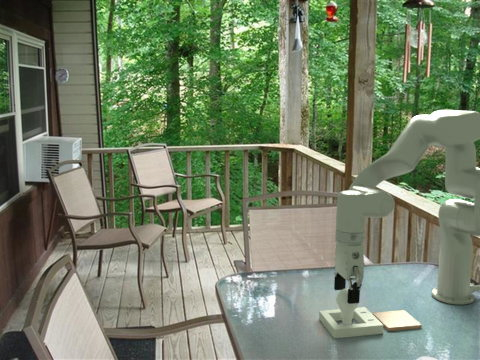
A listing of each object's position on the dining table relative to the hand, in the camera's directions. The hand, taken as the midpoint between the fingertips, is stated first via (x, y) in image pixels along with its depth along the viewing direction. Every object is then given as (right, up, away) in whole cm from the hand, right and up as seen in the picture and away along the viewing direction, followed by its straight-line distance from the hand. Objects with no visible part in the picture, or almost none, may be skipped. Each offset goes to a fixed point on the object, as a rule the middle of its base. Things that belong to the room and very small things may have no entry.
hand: (346, 296), depth 144 cm
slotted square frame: (+2, -9, +2) cm, 9 cm away
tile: (+15, -8, +5) cm, 18 cm away
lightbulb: (+1, -9, +2) cm, 9 cm away
